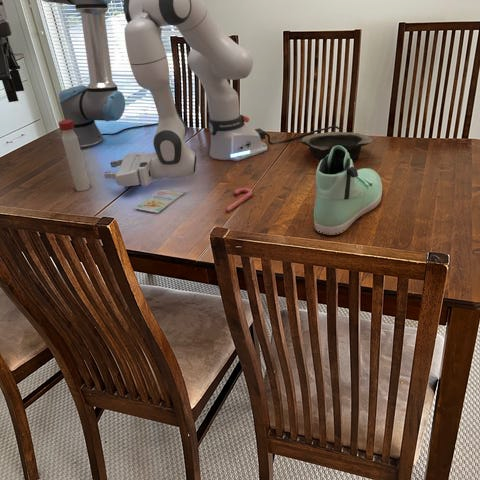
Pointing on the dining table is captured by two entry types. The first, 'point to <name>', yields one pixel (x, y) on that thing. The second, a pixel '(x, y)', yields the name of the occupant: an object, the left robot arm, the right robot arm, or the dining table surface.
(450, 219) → the dining table surface
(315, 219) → the sneaker
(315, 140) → the stone bowl
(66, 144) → the bottle
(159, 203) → the baking ingredient package
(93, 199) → the dining table surface
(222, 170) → the dining table surface
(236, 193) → the candy cane
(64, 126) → the cap
